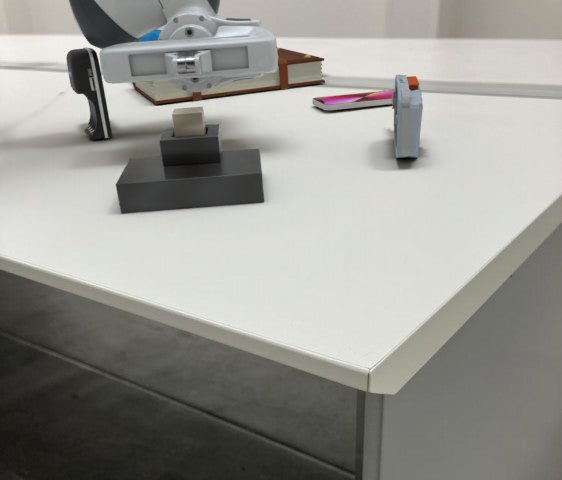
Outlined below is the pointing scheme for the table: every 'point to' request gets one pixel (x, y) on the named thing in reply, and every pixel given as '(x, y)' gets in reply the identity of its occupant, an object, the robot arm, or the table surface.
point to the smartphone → (354, 100)
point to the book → (244, 80)
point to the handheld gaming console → (407, 116)
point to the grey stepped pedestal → (191, 175)
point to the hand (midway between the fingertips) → (186, 67)
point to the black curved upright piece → (90, 89)
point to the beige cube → (188, 121)
